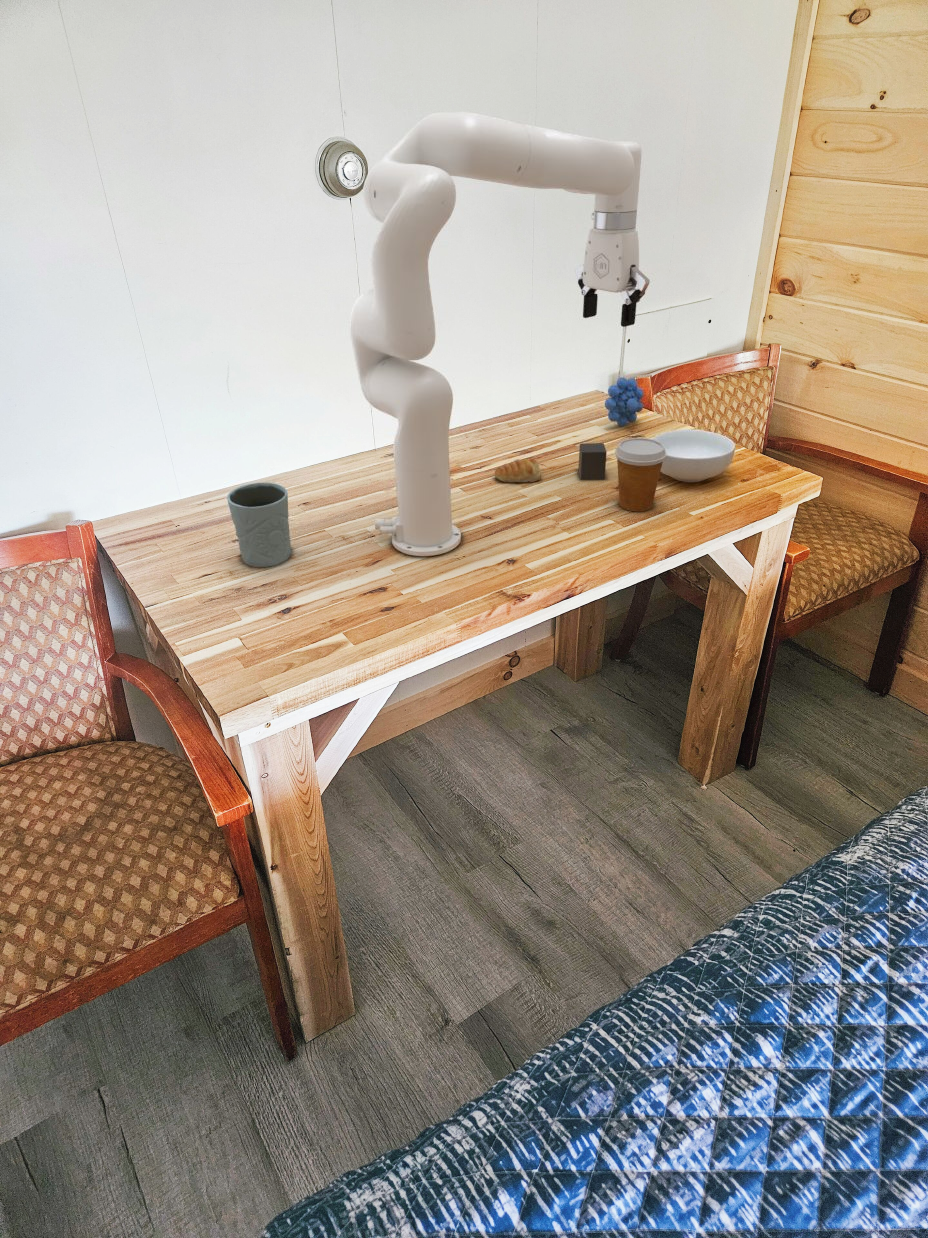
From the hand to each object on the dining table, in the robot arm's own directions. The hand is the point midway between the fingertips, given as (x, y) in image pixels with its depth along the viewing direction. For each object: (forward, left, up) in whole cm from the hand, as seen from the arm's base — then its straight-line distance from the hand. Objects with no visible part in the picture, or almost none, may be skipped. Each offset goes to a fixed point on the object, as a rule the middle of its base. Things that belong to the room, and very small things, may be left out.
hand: (608, 320), depth 155 cm
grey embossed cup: (-62, -34, -31) cm, 78 cm away
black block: (-1, 0, -31) cm, 31 cm away
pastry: (-16, -1, -31) cm, 35 cm away
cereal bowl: (+19, -1, -31) cm, 36 cm away
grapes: (+10, +28, -31) cm, 43 cm away
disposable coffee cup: (+6, -15, -31) cm, 35 cm away
